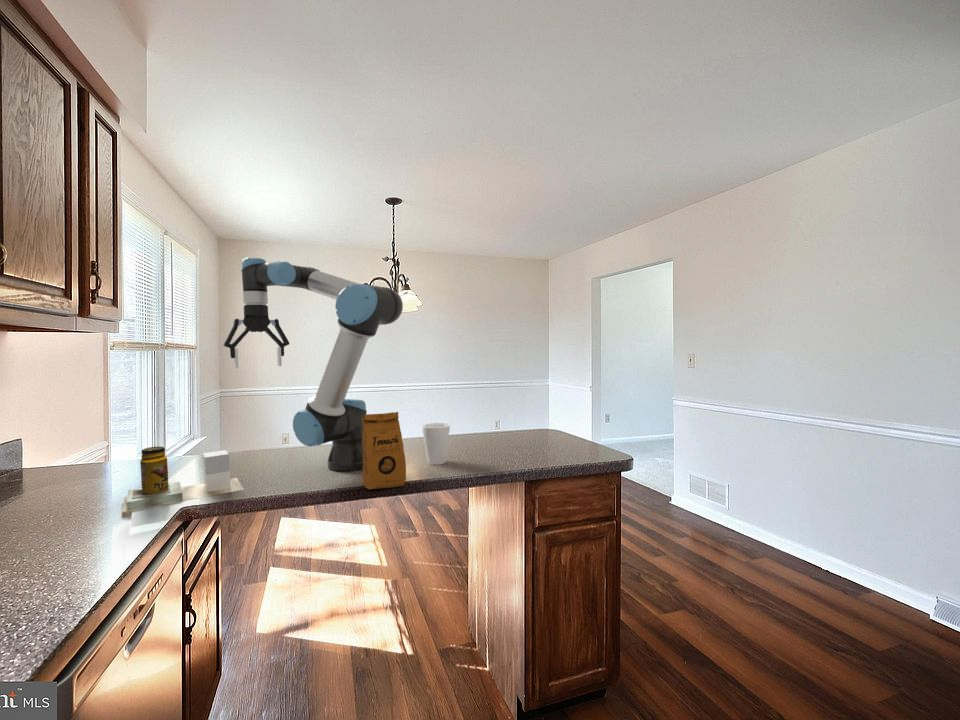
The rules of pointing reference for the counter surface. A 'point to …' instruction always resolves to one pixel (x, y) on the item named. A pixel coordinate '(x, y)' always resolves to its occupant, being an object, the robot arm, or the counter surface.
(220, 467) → the block pillar
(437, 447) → the foam cup
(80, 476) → the counter surface
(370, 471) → the coffee package
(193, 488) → the build board
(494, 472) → the counter surface
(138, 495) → the condiment
